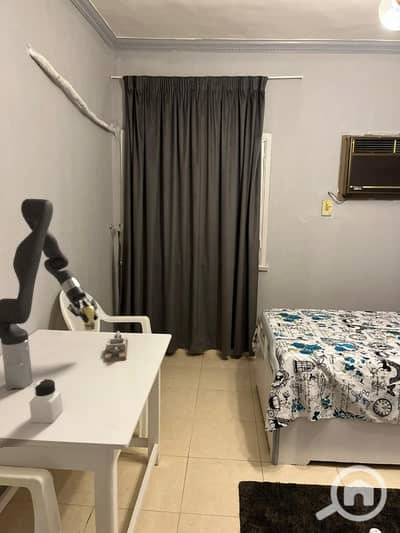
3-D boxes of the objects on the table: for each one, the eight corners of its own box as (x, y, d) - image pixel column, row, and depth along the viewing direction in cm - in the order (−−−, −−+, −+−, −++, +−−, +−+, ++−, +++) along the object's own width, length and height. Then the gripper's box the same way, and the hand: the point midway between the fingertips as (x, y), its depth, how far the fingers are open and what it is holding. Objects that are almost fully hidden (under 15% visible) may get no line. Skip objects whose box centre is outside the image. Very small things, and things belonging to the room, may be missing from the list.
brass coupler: (94, 330, 169) (93, 308, 167) (83, 330, 168) (82, 308, 166) (95, 326, 173) (94, 305, 172) (85, 327, 172) (83, 305, 171)
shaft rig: (126, 360, 166) (125, 348, 165) (104, 362, 164) (104, 349, 163) (127, 340, 189) (127, 330, 188) (109, 342, 187) (108, 331, 186)
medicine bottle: (63, 411, 126) (60, 377, 124) (52, 423, 119) (49, 387, 117) (42, 410, 127) (39, 376, 125) (31, 422, 120) (27, 387, 118)
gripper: (62, 288, 166) (82, 319, 161) (89, 282, 178) (108, 312, 173) (56, 298, 170) (75, 329, 165) (83, 292, 182) (101, 321, 176)
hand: (92, 320), depth 169 cm, fingers closed on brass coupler, 4 cm apart
